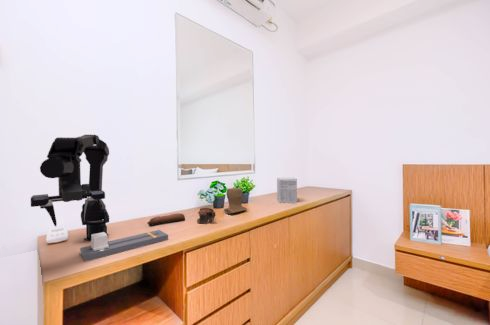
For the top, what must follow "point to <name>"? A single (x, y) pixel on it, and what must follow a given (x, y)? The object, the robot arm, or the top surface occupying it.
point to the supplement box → (287, 190)
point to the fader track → (124, 244)
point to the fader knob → (99, 241)
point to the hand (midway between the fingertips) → (70, 223)
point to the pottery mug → (206, 215)
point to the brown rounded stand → (234, 201)
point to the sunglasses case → (166, 219)
